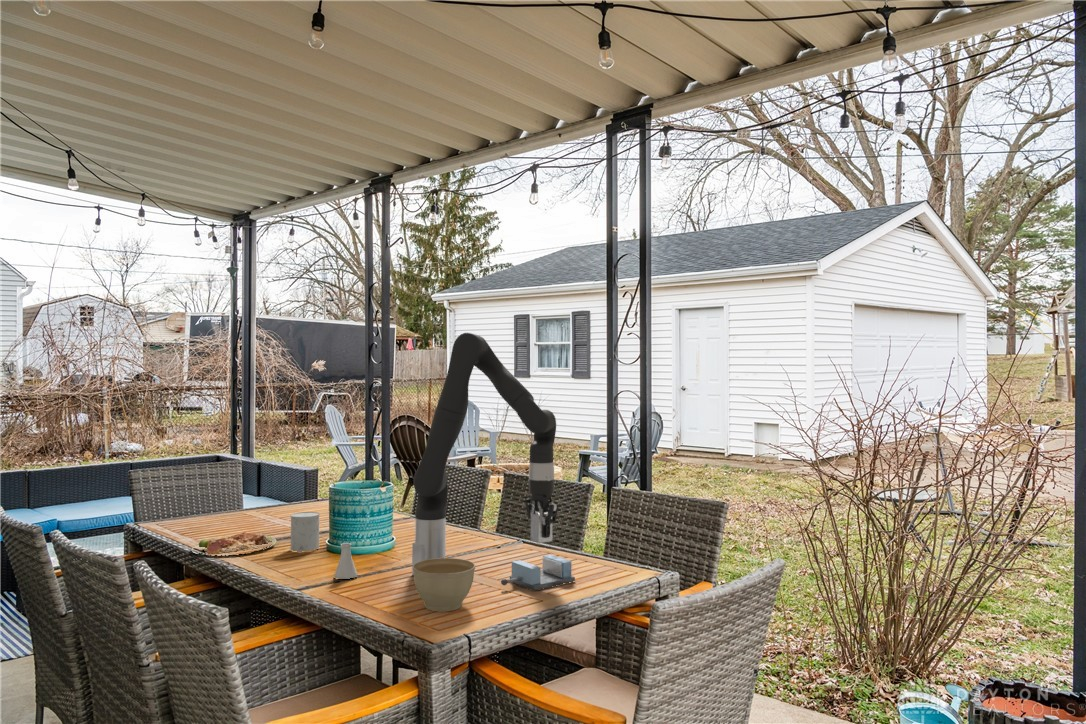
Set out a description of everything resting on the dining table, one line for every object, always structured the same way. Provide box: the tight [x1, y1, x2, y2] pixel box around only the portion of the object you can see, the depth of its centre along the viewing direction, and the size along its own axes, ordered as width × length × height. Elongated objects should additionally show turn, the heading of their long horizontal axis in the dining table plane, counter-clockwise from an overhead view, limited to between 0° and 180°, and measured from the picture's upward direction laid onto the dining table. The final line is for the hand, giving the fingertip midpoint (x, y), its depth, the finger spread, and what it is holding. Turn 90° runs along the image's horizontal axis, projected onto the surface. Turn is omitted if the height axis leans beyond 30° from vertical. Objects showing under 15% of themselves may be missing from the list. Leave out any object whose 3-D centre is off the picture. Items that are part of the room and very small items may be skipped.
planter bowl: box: [413, 557, 476, 613], centre depth 189 cm, size 16×16×11 cm
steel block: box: [530, 512, 553, 544], centre depth 212 cm, size 5×4×8 cm
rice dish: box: [190, 531, 277, 554], centre depth 253 cm, size 28×28×5 cm
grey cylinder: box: [290, 511, 320, 552], centre depth 251 cm, size 10×10×12 cm
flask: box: [333, 542, 358, 580], centre depth 216 cm, size 7×7×10 cm
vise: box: [509, 554, 576, 592], centre depth 212 cm, size 15×12×6 cm
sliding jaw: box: [500, 559, 542, 586], centre depth 206 cm, size 10×10×5 cm
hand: (541, 535), depth 212 cm, fingers closed on steel block, 4 cm apart
